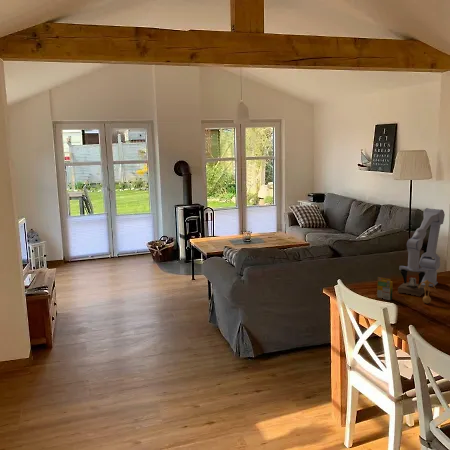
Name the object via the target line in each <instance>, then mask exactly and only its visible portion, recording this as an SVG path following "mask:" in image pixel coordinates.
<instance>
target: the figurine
mask: <svg viewBox="0 0 450 450" xmlns="http://www.w3.org/2000/svg"><path fill="white" fill-rule="evenodd" d="M423 283H425V286H426V287H424V291H425V292H424V296H422V302H423V303H424V304H431V302H432V297H430V295H429V294H430V291H431V289H430V288H431V286H429V283H430V284H433V283H431V282H429V281H428V280H426V281H424V282H422V283H420V285H421V284H423ZM420 285H419V288H420ZM433 286H434V284H433ZM433 286H432V287H433ZM419 288H418V289H419ZM433 288H434V290H436V289H437V288H436V285H435V286H434V287H433Z"/></svg>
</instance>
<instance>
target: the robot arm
mask: <svg viewBox="0 0 450 450" xmlns="http://www.w3.org/2000/svg"><path fill="white" fill-rule="evenodd" d="M444 220H445V211H444V210H443V209H438V208H428V207H426V208H424V210H423V219H422V221H421V224H420V227H418V228H416V230H415V231H414V232H413V235H412V237H410V238H409V239H408V240H407V242H406V249H407V253H408V254H407V256H408V258H407V266H405V265H399V268H398V269H399V271H400V273H401V276H402V279H403V283H407V281H408V272H415V273H418V284H419V285H420V283H422V282H424V281H426V280H428V281H429V282H431V283H433V284H434V286H435V287H436V286H437V285H438V283H439V282H438V281H437V275H438V271H437V270H439V269H440V266H441V257H440V256H439V255H438V254H437V248H438V242H439V237H440V236H439V235H440V232H441V231H440V230H441V225H443V224H444V222H445V221H444ZM429 227H430V229H429V234H428V233H427V230H428V228H429ZM427 234H428V240H427V241H428V242H427V247H426V252H423V253H422V254H421V251H420V250H421V249H422V247H423V243H424V239H425V237H426V235H427ZM420 256H421V257H420ZM433 284H430V283H429V286H428V287H433V288H434V286H433ZM421 285H425V283H423V284H421Z"/></svg>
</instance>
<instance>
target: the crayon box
mask: <svg viewBox="0 0 450 450" xmlns="http://www.w3.org/2000/svg"><path fill="white" fill-rule="evenodd" d="M391 280H392V279H391V278H385V277H381V276H380V277H379V276H377V287H376V288H377V289H376V298H378V299H382V298H383V300H388V301H391V300H393V285H394V283H393V282H394V281H391Z"/></svg>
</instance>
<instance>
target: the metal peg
mask: <svg viewBox="0 0 450 450" xmlns="http://www.w3.org/2000/svg"><path fill="white" fill-rule="evenodd" d="M408 279H409V281H408V283H409V287H411V288H416V284H417V278H416V277H409V278H408Z"/></svg>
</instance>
